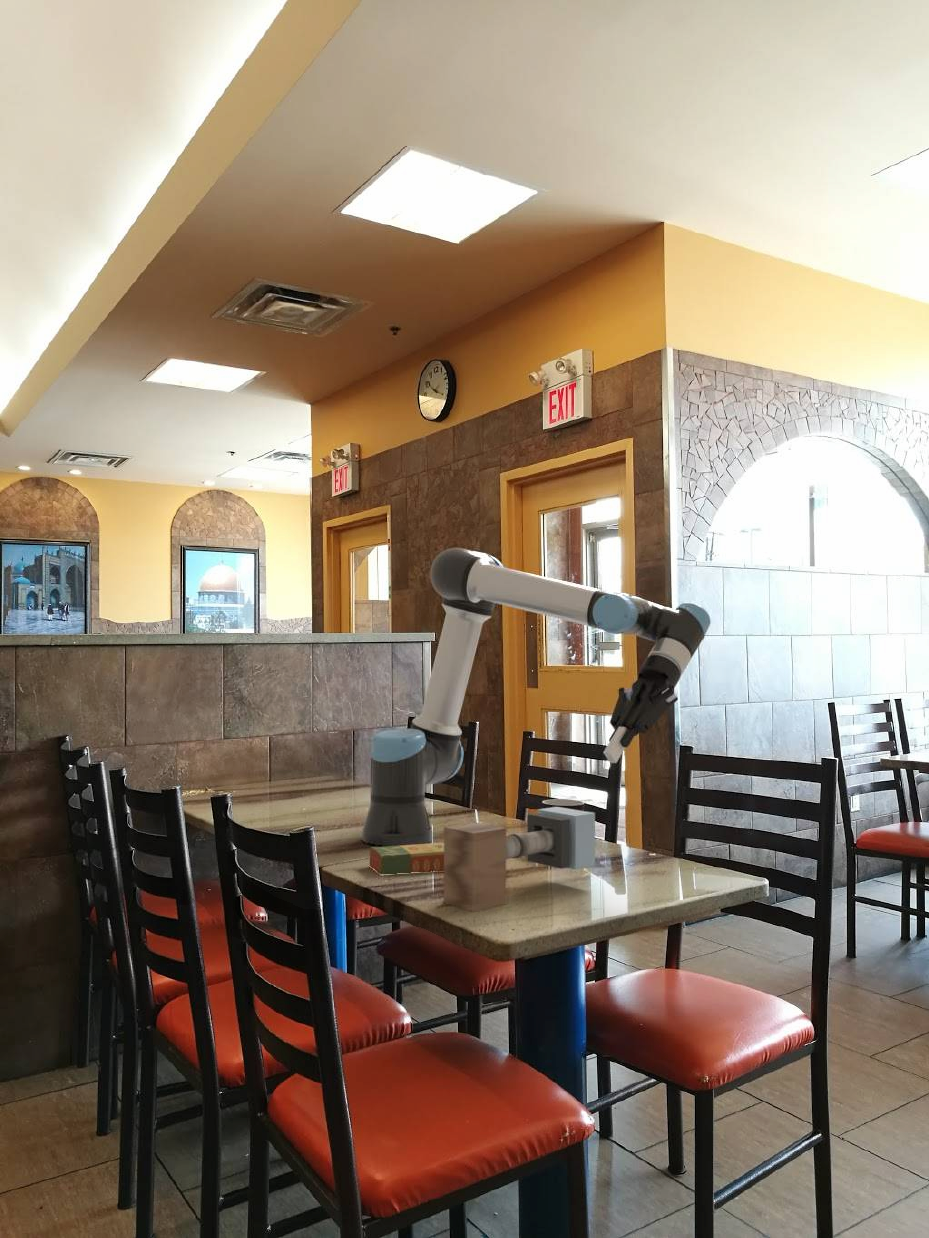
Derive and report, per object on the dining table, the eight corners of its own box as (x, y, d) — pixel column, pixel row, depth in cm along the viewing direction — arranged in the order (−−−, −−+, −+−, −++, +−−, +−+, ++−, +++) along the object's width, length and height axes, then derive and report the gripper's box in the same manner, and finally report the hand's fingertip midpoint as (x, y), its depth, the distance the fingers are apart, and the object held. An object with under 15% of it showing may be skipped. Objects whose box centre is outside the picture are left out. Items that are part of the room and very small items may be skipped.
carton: (464, 872, 175) (464, 848, 176) (380, 878, 170) (380, 854, 170) (450, 862, 183) (450, 840, 183) (369, 868, 178) (369, 845, 178)
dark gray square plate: (527, 860, 165) (527, 814, 165) (535, 859, 166) (535, 813, 167) (561, 868, 159) (561, 820, 159) (569, 866, 160) (569, 819, 161)
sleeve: (537, 860, 167) (537, 809, 168) (556, 857, 171) (556, 806, 171) (575, 869, 161) (575, 815, 161) (594, 865, 164) (594, 812, 164)
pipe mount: (443, 902, 152) (444, 827, 152) (569, 875, 171) (570, 808, 172) (473, 911, 146) (473, 833, 147) (599, 882, 166) (599, 813, 167)
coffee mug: (582, 856, 188) (582, 806, 189) (539, 854, 190) (539, 804, 190) (587, 845, 200) (587, 798, 200) (546, 844, 201) (546, 796, 202)
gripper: (700, 680, 183) (647, 774, 171) (645, 679, 192) (592, 768, 181) (683, 652, 179) (628, 746, 168) (629, 653, 189) (573, 741, 177)
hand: (609, 757), depth 174 cm, fingers closed
